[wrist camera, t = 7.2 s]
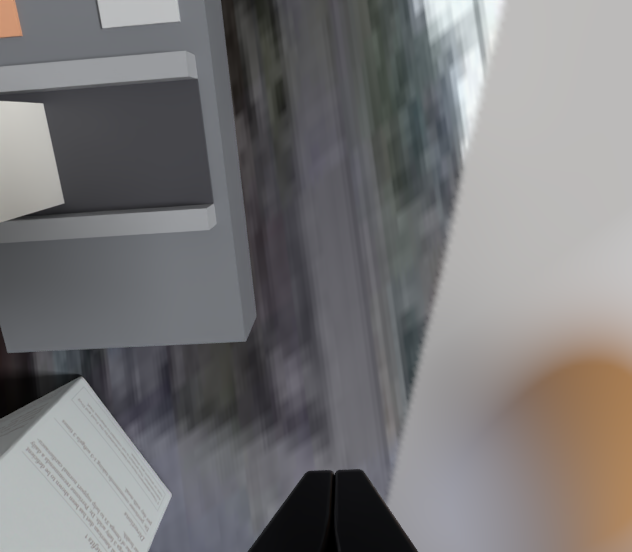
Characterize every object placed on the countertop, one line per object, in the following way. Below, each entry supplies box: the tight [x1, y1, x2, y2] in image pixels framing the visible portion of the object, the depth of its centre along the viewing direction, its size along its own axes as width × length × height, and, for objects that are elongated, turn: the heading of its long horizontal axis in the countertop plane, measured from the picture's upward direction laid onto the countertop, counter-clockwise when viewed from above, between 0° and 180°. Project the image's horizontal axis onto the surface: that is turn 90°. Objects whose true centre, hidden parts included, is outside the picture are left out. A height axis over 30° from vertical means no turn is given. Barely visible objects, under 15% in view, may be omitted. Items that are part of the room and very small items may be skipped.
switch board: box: [0, 0, 256, 353], centre depth 18 cm, size 14×9×4 cm, turn 4°
